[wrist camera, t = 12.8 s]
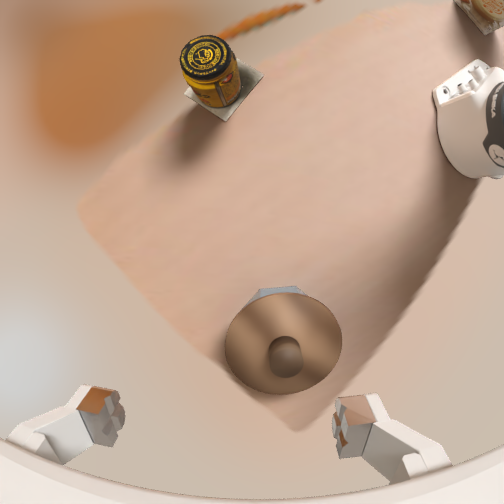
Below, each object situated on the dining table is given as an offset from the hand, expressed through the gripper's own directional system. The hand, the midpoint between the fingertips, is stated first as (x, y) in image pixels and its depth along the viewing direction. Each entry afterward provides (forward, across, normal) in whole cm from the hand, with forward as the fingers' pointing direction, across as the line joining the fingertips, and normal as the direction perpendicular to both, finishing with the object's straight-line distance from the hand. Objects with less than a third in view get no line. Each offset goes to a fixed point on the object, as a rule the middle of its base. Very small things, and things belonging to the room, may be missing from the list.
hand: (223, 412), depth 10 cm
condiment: (+33, +3, -21) cm, 39 cm away
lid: (+26, -4, +13) cm, 30 cm away
